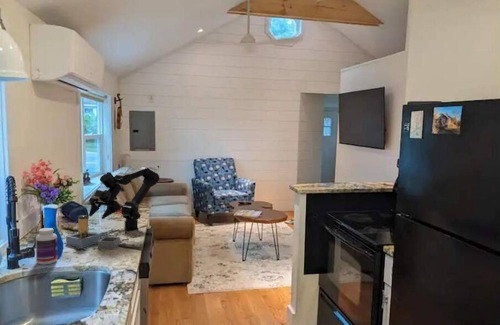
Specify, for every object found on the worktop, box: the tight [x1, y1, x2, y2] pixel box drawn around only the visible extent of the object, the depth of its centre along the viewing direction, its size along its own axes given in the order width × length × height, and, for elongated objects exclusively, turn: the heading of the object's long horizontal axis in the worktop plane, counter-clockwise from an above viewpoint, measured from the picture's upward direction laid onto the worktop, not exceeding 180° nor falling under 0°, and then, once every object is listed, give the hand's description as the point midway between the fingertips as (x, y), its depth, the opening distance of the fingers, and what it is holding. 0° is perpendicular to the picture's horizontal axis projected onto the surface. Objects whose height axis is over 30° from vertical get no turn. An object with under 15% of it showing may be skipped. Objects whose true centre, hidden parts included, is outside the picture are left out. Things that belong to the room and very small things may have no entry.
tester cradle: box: [97, 236, 121, 250], centre depth 185 cm, size 8×8×4 cm
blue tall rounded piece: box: [35, 197, 63, 236], centre depth 204 cm, size 15×10×20 cm
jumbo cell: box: [77, 214, 89, 239], centre depth 188 cm, size 4×4×13 cm
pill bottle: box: [35, 228, 58, 266], centre depth 161 cm, size 8×8×14 cm
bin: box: [65, 231, 101, 249], centre depth 189 cm, size 11×11×4 cm
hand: (95, 217), depth 195 cm, fingers open, 9 cm apart
